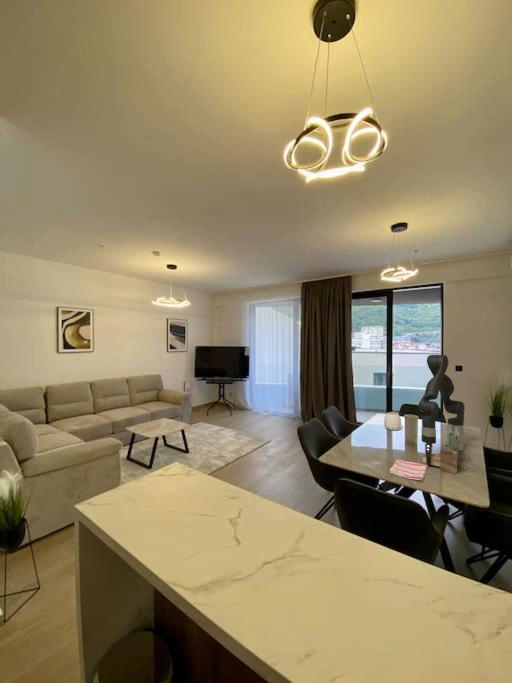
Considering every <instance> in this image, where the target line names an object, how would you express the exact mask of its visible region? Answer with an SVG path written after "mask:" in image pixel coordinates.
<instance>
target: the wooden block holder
mask: <svg viewBox="0 0 512 683" xmlns="http://www.w3.org/2000/svg"><path fill="white" fill-rule="evenodd" d="M452 449H453V450H452V451H447V450H445V449H440V454H439V456H440V466H439V468H440V469H439V470H440V472H444V473H447V474H448V473H449V474H452V475H453V474H454V475H458V461H457V447H456V446H452Z"/></svg>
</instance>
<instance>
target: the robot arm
mask: <svg viewBox="0 0 512 683" xmlns="http://www.w3.org/2000/svg"><path fill="white" fill-rule="evenodd" d="M426 364H427V366H428V368H429V370H430V372H431V374H432V376H433V377H432V378H431V379H430V380H429V381H428V382H427V384H426V386H425V391H424V394H423V396H422V397H421V399H420V401H419V402H418V405H417V406H418V410H419V412H422V413H426V414H430V415H423V416H422V418H421V442H423V443H424V453H426V463H427V464H426V465H429V464H431V454H433V447H434V446H433V444H436V443H437V430H436V418H437V415H438V413H439V409H440V406H439V403H438V402H436V401H433V400H437V399H438V397H439V393H440V396H441V399H442V403H443V406H444V410H445V412H447V413H448V414H453V415H456V416H455V417H449V418H447V426H448V425H451V432H452V446H454V428H455V427H458V432H459V436H458V437H459V445H458V452H459V451H460V452H461V451H464V450H465V449H464V448H465V442H464V440H465V432H464V429H465V428H464V425H465V423H464V422H465V408H466V407H465V404H464V402H463V401H459V400H454V399H451V398H450V397H451V396H452V395H453V393H454V392H455V385H454V382H453V380H452V379H451V377H450V376H448V375H447V374H446V372H447V370H448V366H449V358H448V356H447V355H445V354H429V355H428V356H427V358H426ZM456 430H457V429H456ZM447 445H449V443H448V442H447ZM452 451H453V449H452ZM427 455H430V456H427Z"/></svg>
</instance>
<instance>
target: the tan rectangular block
mask: <svg viewBox="0 0 512 683" xmlns="http://www.w3.org/2000/svg"><path fill="white" fill-rule="evenodd" d="M427 456H430V455H427ZM422 464H424V465H428V466H430V465H431V466H435V467H440V455H438V454H433V453H432V454H431V464H427V463H426V453H425V452H422Z"/></svg>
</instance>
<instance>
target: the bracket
mask: <svg viewBox="0 0 512 683" xmlns="http://www.w3.org/2000/svg"><path fill="white" fill-rule="evenodd" d="M456 429H457V430H456ZM458 436H459V432H458V427H455V428H454V446H456V447H457V462H458V458H459V456H458V455H459V454H458V453H459V451H458V445H459V437H458ZM448 443H449V445H448ZM444 450H447V451H453V450H452V432H451V425H448V424H447V444H444Z"/></svg>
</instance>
